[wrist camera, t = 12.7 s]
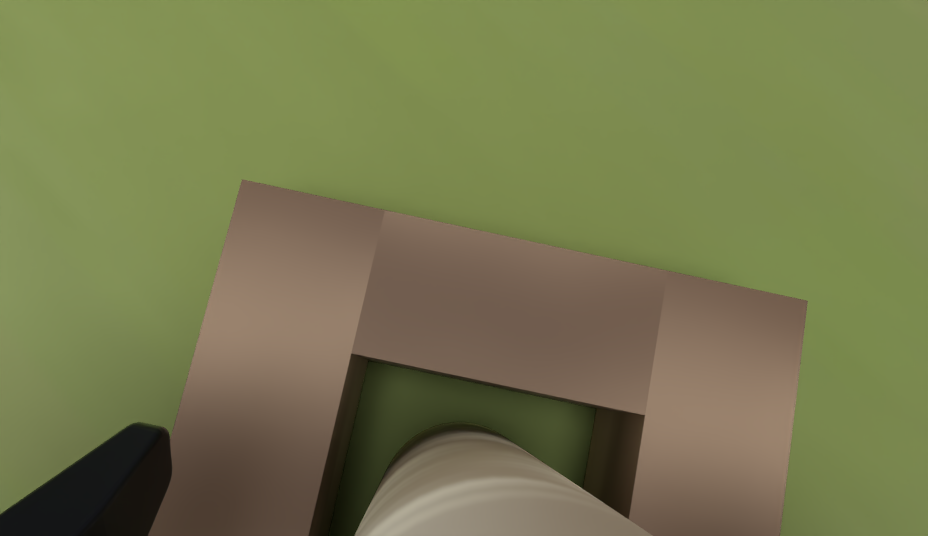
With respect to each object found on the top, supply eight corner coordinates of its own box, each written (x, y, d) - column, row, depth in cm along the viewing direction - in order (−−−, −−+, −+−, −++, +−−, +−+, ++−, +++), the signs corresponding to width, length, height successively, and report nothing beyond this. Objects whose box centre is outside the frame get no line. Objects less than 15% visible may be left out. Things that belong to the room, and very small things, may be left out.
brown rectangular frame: (656, 816, 16) (729, 956, 12) (153, 715, 16) (63, 824, 12) (725, 319, 18) (807, 300, 14) (282, 224, 18) (241, 179, 14)
